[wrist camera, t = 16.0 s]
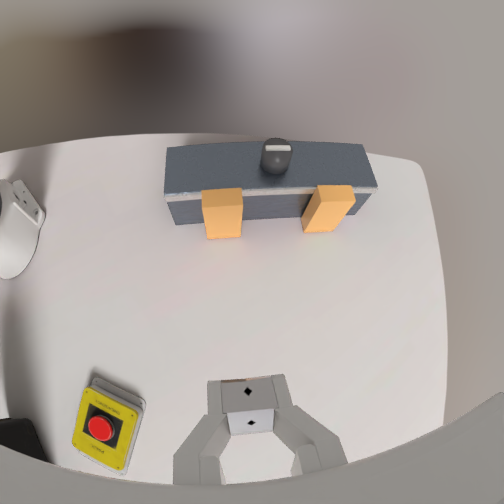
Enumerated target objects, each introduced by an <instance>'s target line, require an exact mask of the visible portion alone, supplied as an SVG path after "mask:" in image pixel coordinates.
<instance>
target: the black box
mask: <svg viewBox="0 0 504 504" xmlns="http://www.w3.org/2000/svg"><path fill="white" fill-rule="evenodd" d="M0 445H2V446H5V447H7V448H9V449H11V450H14V451H16V452H19V453H21V454H24V455H27V456H29V457H32V458H35V459H38V460H41V461H44V462H47V460H46V458H45V455H44V453H43V451H42V448H41V446H40V443H39V441H38V438H37V436H36V433H35V430H34V428H33V425H32V422H31V421H30V420H29V419H26V418H25V419H11V418H5V419H0ZM47 463H48V462H47Z"/></svg>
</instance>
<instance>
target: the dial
mask: <svg viewBox="0 0 504 504" xmlns="http://www.w3.org/2000/svg"><path fill="white" fill-rule="evenodd" d="M292 154H293V148H292V146H291V145H290V143H288V142H287V141H286V140H284V139H280V138H271V139H268V140H267V141H265V142H264V144H263V147H262V153H261V159H260V164H261V166H262V168H263V169H264V170H265V171H267V172H268V173H271V174H281V173H284V172H285V171H286V170H287V169H288V167H289V164H290V161H291V157H292Z"/></svg>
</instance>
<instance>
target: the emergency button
mask: <svg viewBox="0 0 504 504" xmlns="http://www.w3.org/2000/svg"><path fill="white" fill-rule="evenodd" d="M145 408H146V403H145V401H144V400H143V399H142V398H139V397H137V396H135V395H133V394H131V393H129V392H127V391H125V390H123V389H120V388H118V387H116V386H114V385H112V384H111V383H109V382H107V381H105V380H103V379H101V378H99V377H96V378H94V379H93V380H92V383H91V386H90V387H87V388H85V389H84V391H83V395H82V399H81V403H80V407H79V411H78V415H77V420H76V424H75V429H74V433H73V438H72V444H73V446H74V447H75V448H76V449H77V451H78V452H79V453H80V454H81V455H83V456H85V457H86V458H88V459H90V460H92V461H93V462H95V463H97V464H99V465H101V466H103V467H104V468H106V469H108V470H110V471H112V472H114V473H116V474H118V475H121V476H124V475H126V473H127V470H128V467H129V463H130V459H131V456H132V452H133V449H134V445H135V442H136V438H137V435H138V431H139V428H140V425H141V421H142V418H143V415H144V412H145Z"/></svg>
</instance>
